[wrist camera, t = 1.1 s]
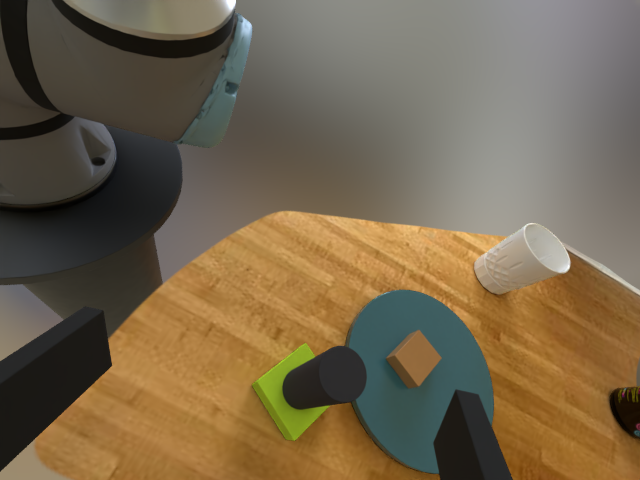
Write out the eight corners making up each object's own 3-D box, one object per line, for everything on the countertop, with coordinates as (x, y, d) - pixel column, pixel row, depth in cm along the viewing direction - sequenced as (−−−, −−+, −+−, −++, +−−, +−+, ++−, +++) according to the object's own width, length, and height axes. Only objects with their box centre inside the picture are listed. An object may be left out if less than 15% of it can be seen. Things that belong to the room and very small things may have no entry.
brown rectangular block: (385, 358, 35) (394, 355, 34) (409, 333, 38) (419, 329, 37) (408, 388, 34) (418, 387, 33) (431, 361, 37) (442, 358, 36)
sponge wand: (251, 384, 30) (283, 362, 20) (297, 348, 34) (346, 313, 23) (285, 440, 29) (340, 447, 19) (330, 396, 32) (397, 382, 22)
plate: (309, 350, 34) (313, 348, 33) (410, 268, 45) (415, 264, 44) (431, 525, 30) (439, 529, 29) (509, 386, 41) (517, 386, 40)
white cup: (462, 263, 49) (514, 232, 41) (486, 248, 54) (539, 216, 46) (494, 306, 47) (556, 281, 39) (517, 286, 51) (578, 261, 43)
